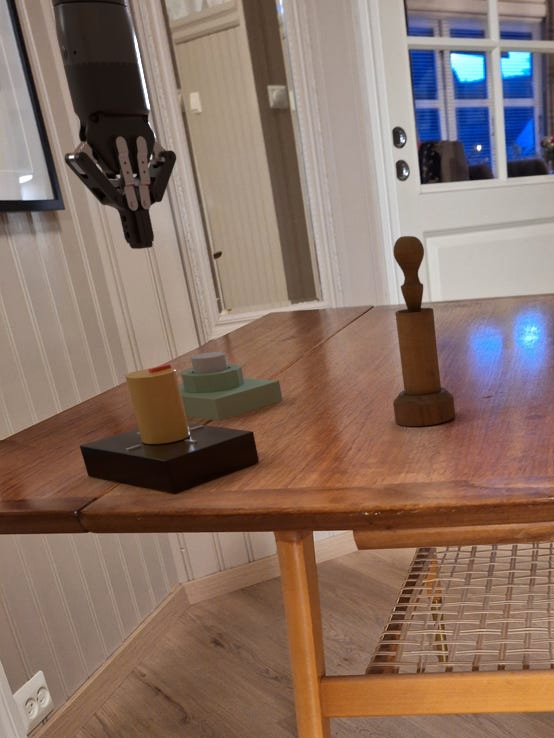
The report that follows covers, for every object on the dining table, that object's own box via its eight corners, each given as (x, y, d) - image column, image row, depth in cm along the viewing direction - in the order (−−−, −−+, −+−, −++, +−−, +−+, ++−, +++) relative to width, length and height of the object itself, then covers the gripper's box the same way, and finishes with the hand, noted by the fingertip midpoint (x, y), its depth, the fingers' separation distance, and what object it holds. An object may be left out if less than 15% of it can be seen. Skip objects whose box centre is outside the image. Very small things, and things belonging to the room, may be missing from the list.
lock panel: (88, 476, 83) (78, 443, 81) (173, 448, 90) (166, 418, 88) (174, 494, 76) (165, 458, 74) (259, 462, 83) (253, 429, 82)
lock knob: (163, 446, 79) (145, 375, 76) (131, 441, 81) (113, 372, 78) (200, 433, 82) (185, 365, 79) (169, 430, 84) (153, 363, 81)
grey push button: (187, 375, 104) (183, 357, 103) (213, 368, 106) (210, 351, 106) (209, 377, 102) (205, 359, 101) (235, 370, 104) (232, 352, 103)
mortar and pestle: (407, 411, 97) (388, 235, 89) (462, 411, 96) (448, 231, 87) (386, 427, 92) (364, 240, 83) (445, 427, 90) (428, 236, 81)
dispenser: (154, 412, 106) (145, 375, 103) (218, 394, 113) (210, 358, 111) (219, 421, 99) (211, 381, 97) (282, 401, 106) (276, 363, 104)
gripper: (66, 54, 82) (112, 254, 90) (178, 62, 91) (210, 242, 100) (21, 62, 85) (69, 253, 94) (132, 69, 95) (167, 242, 103)
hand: (141, 247), depth 97 cm, fingers closed
